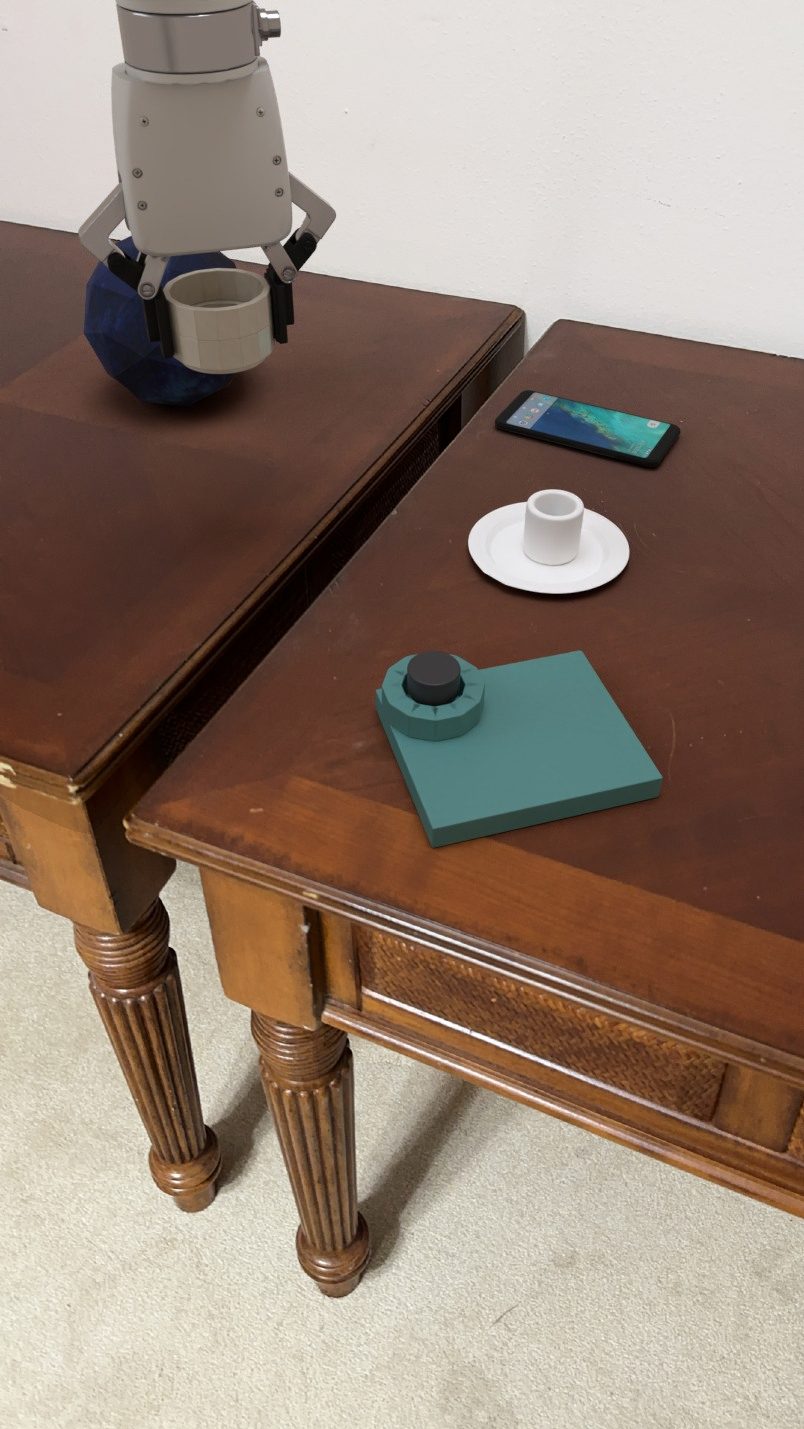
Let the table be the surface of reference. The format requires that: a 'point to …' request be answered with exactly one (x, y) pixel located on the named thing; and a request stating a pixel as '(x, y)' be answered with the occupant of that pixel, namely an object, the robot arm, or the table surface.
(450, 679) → the button
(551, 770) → the teal dial base
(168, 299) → the bowl
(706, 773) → the table surface
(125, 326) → the decorative orb
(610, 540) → the candle holder
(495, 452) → the table surface
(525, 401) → the smartphone
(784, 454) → the table surface
